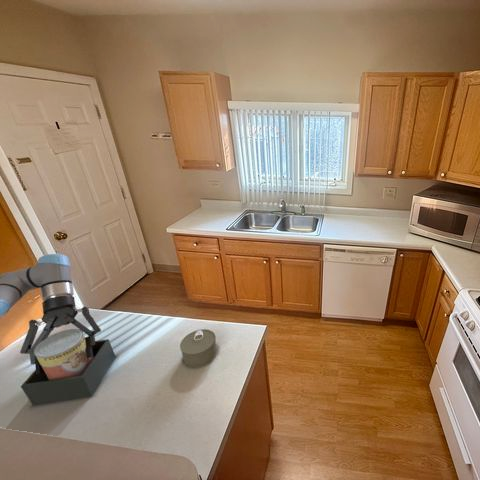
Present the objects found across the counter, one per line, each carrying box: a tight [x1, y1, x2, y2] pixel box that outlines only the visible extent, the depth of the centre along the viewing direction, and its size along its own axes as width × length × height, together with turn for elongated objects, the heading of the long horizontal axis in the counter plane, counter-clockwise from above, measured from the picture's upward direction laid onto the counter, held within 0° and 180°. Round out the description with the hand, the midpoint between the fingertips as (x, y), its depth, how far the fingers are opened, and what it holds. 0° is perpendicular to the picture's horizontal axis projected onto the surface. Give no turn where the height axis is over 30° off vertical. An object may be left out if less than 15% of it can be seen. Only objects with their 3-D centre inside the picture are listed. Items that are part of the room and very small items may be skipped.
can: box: [179, 328, 218, 368], centre depth 95 cm, size 12×12×7 cm
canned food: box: [33, 328, 94, 380], centre depth 81 cm, size 11×11×12 cm
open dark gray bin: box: [20, 338, 117, 406], centre depth 84 cm, size 15×15×9 cm
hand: (66, 365), depth 80 cm, fingers closed on canned food, 11 cm apart
